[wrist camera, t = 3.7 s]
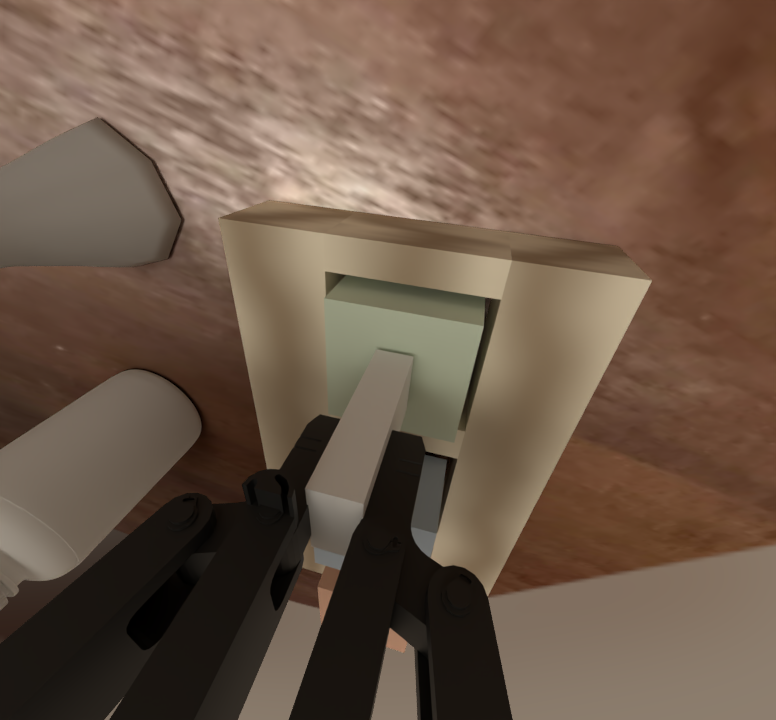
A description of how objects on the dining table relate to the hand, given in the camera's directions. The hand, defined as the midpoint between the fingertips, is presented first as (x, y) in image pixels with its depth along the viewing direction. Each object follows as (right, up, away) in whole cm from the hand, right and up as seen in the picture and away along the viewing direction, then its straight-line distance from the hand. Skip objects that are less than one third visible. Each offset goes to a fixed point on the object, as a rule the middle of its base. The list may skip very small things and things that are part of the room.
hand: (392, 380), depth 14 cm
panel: (+1, -4, +10) cm, 11 cm away
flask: (-15, +10, +5) cm, 18 cm away
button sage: (+1, +2, +4) cm, 5 cm away
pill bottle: (-19, -3, +15) cm, 24 cm away
